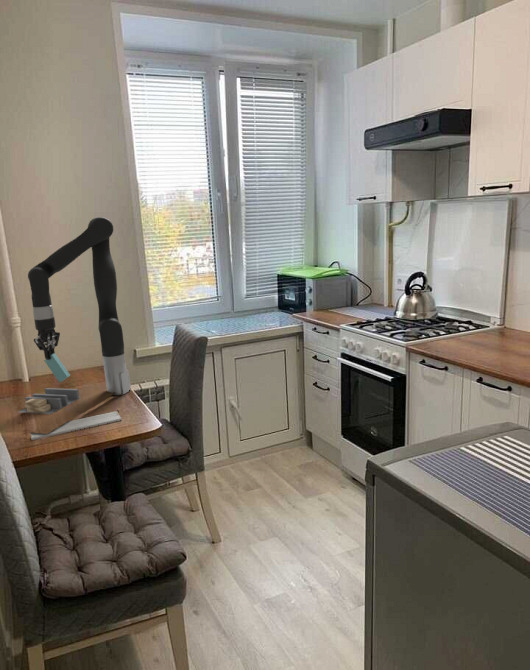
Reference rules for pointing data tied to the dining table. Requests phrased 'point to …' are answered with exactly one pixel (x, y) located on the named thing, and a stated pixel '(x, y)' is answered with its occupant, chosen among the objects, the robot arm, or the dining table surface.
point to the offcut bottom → (42, 409)
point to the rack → (55, 399)
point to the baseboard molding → (80, 424)
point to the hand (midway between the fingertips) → (50, 358)
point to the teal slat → (57, 368)
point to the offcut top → (35, 403)
